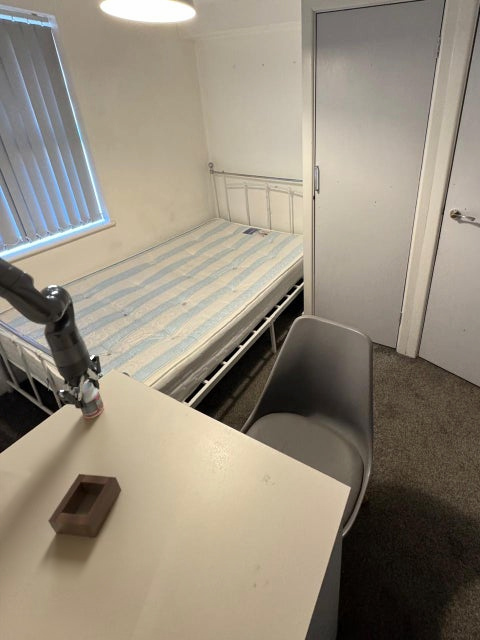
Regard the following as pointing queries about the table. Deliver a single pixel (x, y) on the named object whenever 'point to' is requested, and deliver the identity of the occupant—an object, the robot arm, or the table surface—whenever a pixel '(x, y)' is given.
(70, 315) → the robot arm
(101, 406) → the pill bottle
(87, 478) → the holder
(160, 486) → the table surface
